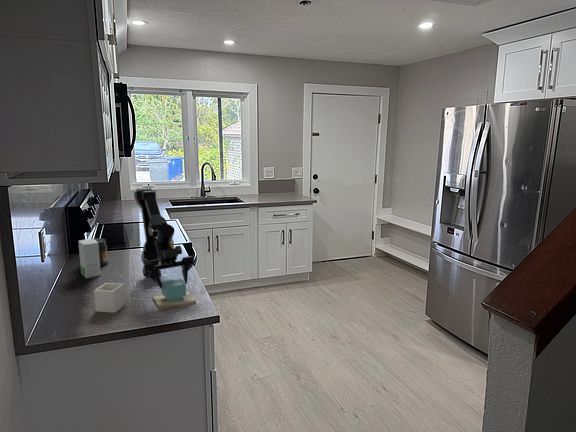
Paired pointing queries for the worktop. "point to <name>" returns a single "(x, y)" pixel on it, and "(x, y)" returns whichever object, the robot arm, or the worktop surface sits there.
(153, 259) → the robot arm
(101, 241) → the supplement container
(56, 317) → the worktop surface
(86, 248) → the skincare box
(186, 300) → the oak board
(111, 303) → the cream storage box
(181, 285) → the aqua cube
